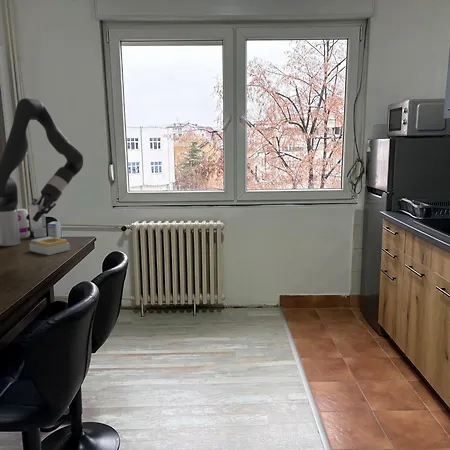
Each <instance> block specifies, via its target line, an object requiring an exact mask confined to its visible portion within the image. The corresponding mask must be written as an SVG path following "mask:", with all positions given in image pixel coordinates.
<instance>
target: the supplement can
mask: <svg viewBox="0 0 450 450" xmlns="http://www.w3.org/2000/svg"><path fill="white" fill-rule="evenodd" d="M17 214H18V223H19V233H20V239H25V238H29V237H30V236H31V229H30V221H29V220H27V219H26V216H27V215H28V214H29V211H28V210H27V209H26V208H17Z"/></svg>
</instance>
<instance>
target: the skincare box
mask: <svg viewBox="0 0 450 450" xmlns="http://www.w3.org/2000/svg"><path fill="white" fill-rule="evenodd" d="M41 222H42V231H37V232H33V237H34V239H38V238H44V237H48V236H47V234H48V233H47V223H46V214H44V215H42V216H41Z"/></svg>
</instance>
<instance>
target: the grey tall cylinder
mask: <svg viewBox="0 0 450 450" xmlns="http://www.w3.org/2000/svg"><path fill="white" fill-rule="evenodd" d="M31 203H32V204H31ZM31 203H30V204H28V205H27V207H28V214H29V217H30V221H29V228H30V232H33V233H34V232H37V231H42V222H41V217H40V219H39V220H38V221H37V222H35V221H34V220H33V217H34V216H35V214H36V213H37V212H38V210H39V208H40V207H39V206H40V204H35V201H33V200H32V201H31Z"/></svg>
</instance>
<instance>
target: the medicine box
mask: <svg viewBox="0 0 450 450" xmlns="http://www.w3.org/2000/svg"><path fill="white" fill-rule="evenodd" d="M47 234H48V236H47V237H53V238H60V239H61V238H62V223H61V221H51V222H49V223H47Z"/></svg>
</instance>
